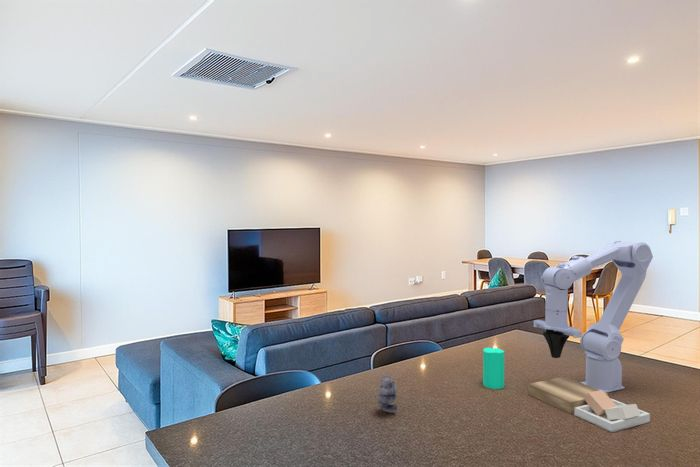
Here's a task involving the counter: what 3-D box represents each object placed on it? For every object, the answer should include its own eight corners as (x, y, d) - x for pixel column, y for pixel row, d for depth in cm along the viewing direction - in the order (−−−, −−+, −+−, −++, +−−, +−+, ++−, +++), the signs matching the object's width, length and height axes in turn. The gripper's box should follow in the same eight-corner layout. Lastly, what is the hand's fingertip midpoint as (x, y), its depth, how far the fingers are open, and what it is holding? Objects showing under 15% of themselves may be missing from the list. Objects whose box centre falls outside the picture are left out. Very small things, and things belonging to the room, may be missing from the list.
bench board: (564, 386, 132) (564, 376, 132) (608, 404, 120) (608, 393, 120) (528, 394, 127) (528, 383, 127) (570, 413, 114) (570, 402, 114)
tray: (611, 406, 119) (611, 398, 119) (649, 421, 110) (650, 413, 109) (574, 415, 113) (574, 407, 113) (611, 432, 104) (611, 424, 104)
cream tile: (636, 404, 108) (640, 415, 108) (618, 405, 113) (622, 416, 112) (622, 407, 106) (626, 418, 106) (604, 409, 111) (608, 419, 110)
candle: (505, 389, 130) (505, 348, 130) (484, 388, 132) (484, 347, 131) (502, 382, 136) (503, 342, 136) (482, 380, 137) (482, 341, 137)
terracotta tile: (597, 395, 118) (602, 389, 116) (612, 412, 114) (617, 406, 113) (583, 399, 116) (588, 392, 114) (598, 415, 112) (603, 409, 111)
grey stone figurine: (399, 410, 117) (399, 371, 116) (394, 418, 112) (394, 378, 111) (379, 407, 118) (379, 369, 118) (374, 415, 113) (373, 376, 113)
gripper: (526, 306, 133) (525, 352, 133) (568, 316, 120) (568, 366, 120) (543, 304, 136) (543, 349, 136) (586, 313, 123) (586, 363, 123)
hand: (555, 357), depth 129 cm, fingers closed
